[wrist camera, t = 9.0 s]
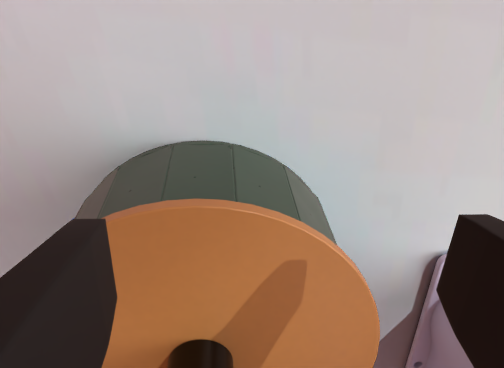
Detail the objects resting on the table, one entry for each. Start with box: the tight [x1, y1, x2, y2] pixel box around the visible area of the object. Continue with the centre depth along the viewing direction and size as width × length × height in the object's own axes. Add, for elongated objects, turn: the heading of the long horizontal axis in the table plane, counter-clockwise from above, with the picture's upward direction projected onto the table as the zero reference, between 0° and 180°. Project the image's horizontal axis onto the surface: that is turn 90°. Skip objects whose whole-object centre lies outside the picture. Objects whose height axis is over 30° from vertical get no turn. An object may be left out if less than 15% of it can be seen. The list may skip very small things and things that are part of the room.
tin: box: [76, 141, 337, 245], centre depth 19 cm, size 12×12×6 cm
